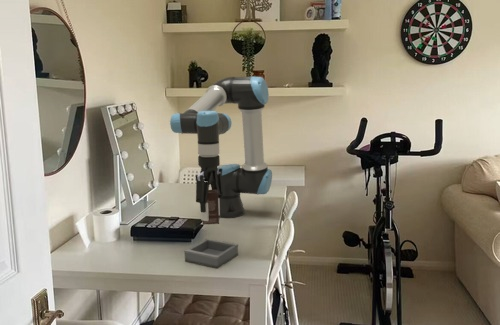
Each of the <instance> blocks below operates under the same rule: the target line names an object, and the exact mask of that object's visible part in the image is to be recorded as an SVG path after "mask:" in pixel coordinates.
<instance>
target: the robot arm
mask: <svg viewBox="0 0 500 325" xmlns="http://www.w3.org/2000/svg"><path fill="white" fill-rule="evenodd" d="M269 96H270V95H269V87H268V83H267V82H266V80H265V78H263V77H261V76H254V75H253V76H228V77H224V78H221V79H219V80H217V81H216V82H214V83H212V84H211V85H210V86H208V87H207V88H206V90H205V93H203V95H202V96H200V97H199V99H198V100H196V101H195V102H194V103H193V104H192V105H191V106H190V107H188V108H187V109H186V110H185V111H184V112H183V113H182V112H179V113H178V112H177V113H173V114H172V115H171V116H170V117H171V118H170V120H169V122H170V123H169V125H170V129H171V132H173V133H175V134H181V135H184V134H189V135H190V134H191V135H195V134H196V135H197V154H198V156H197V161H198V162H197V164H198V165H197V166H199V167H200V173H199V174H195V181H196V183H195V184H196V186H195V202H196V203H198V204H199V206H200V207H199V208H200V209H199V210H200V221H202V222H203V221H209V216H208V203H206V202H207V196H208V190H210V189H209V188H210V186H211V190H214V189H217V190H218V207H219V218H222V219H223V218H230V219H231V218H237V217H240V216H243V215H244V214H245V206H244V204H243V201H242V198H241V194H247V195H250V194H251V195H257V196H258V195H266V194H267V193H268V192H269V191H270V188H271V185H272V180H273V171H272V169H268V164H267V163H266V162H265V157H264V156H265V155H264V138H263V137H264V136H263V119H262V111H263V110H264V109H265V105H267V103H268V102H269ZM226 104H232V105H233V104H234V105H235V104H236V105H237V108H238V110H239V111H240V112H241V117H242V133H243V134H242V136H243V145H244V146H243V148H244V164H242V167H241V165H240V164H237V163H232V164H224V165H220V164H221V162H220V160H221V158H220V155H219V154H220V135H223V134H226V133H227V132H229V130H231V127H232V119H231V117H230V116H229V115H228V114H227V113H224V112H218V111H216V109H217V108H218V107H222V106H224V105H226Z"/></svg>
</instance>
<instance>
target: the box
mask: <svg viewBox="0 0 500 325" xmlns="http://www.w3.org/2000/svg"><path fill="white" fill-rule="evenodd" d="M206 203H208V216H209V221H203V220H202V225H205V226H206V225H218V224H220V217H219V207H218V190H217V189H214V190H212V189H209V190H208V196H207V202H206Z"/></svg>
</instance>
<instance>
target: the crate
mask: <svg viewBox="0 0 500 325" xmlns="http://www.w3.org/2000/svg"><path fill="white" fill-rule="evenodd" d="M183 251H184V262H186V263H189V264H196V265H199V266H205V267H210V268H214V269H219V268H221V267H222V266H223V265H226V264H227V263H228V262H230V261H231V260H233V259H235V258H236V257H237V256H239V244H238V243H233V242H228V241H221V240H217V239H212V238H208V237H207V238H204V240H201V242H198V243H197V244H194V245H193V246H191V247H189V248H187V249H185V250H183Z"/></svg>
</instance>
